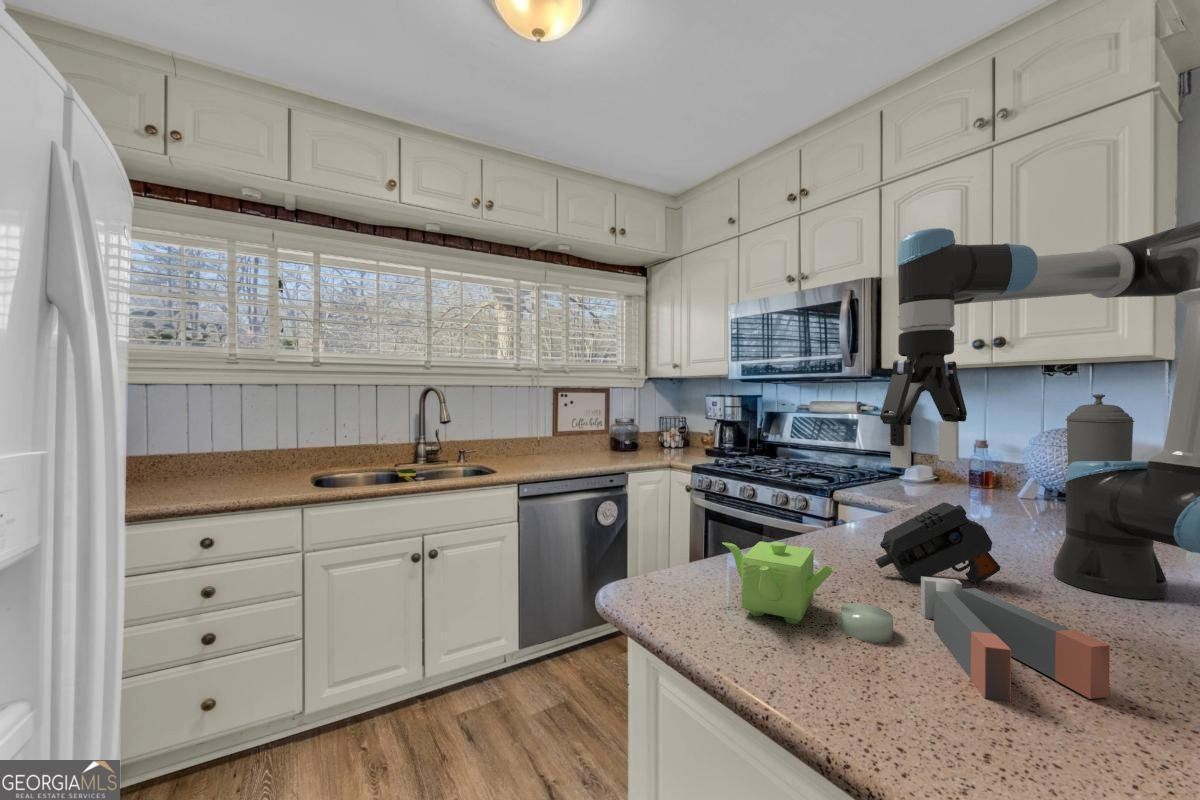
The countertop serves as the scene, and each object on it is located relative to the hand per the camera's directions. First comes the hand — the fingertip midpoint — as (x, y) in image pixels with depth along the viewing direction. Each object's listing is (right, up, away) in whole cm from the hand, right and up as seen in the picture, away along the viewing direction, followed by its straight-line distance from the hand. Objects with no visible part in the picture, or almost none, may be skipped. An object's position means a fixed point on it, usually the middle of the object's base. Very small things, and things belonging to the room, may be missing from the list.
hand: (925, 464), depth 83 cm
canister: (+76, -24, +51) cm, 95 cm away
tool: (+12, -24, +16) cm, 32 cm away
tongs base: (-1, -25, -11) cm, 27 cm away
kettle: (-23, -25, +3) cm, 34 cm away
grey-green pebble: (-12, -25, -5) cm, 28 cm away
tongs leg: (+5, -24, -13) cm, 28 cm away
